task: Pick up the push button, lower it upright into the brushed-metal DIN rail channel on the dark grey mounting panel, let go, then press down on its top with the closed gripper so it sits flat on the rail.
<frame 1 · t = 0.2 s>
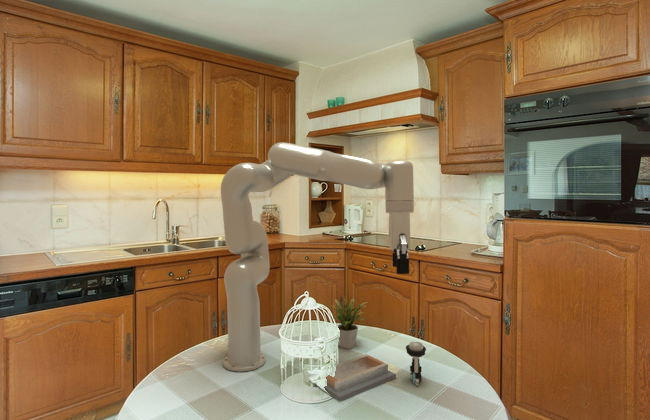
hand: (400, 270, 107), 30 cm above the table, tool pointing down, fingers open, 9 cm apart
mounting panel: (353, 379, 108), on the table
push button: (415, 382, 107), on the table
house plant: (349, 347, 131), on the table
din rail: (353, 371, 108), on the mounting panel, point 2 cm above the table
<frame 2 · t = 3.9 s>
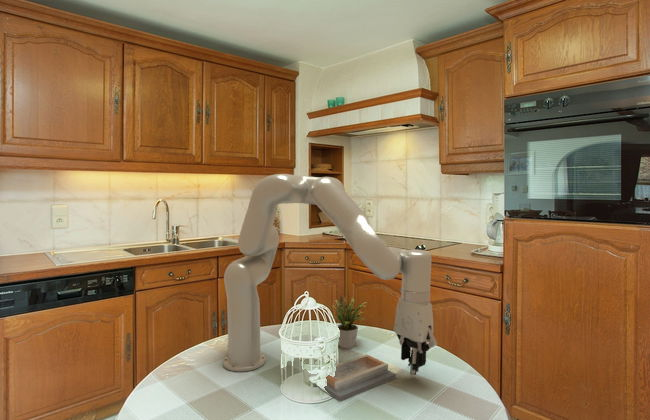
hand: (413, 361, 107), 5 cm above the table, tool pointing down, fingers closed on push button, 4 cm apart
push button: (413, 373, 107), point 2 cm above the table, touching gripper
everything else where it was.
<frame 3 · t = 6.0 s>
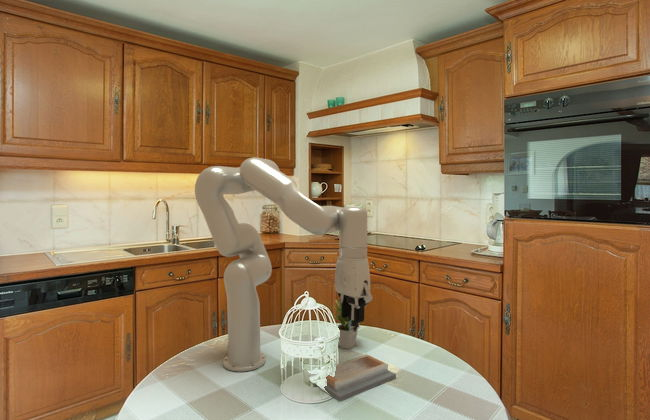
hand: (352, 318, 108), 17 cm above the table, tool pointing down, fingers closed on push button, 4 cm apart
push button: (353, 330, 108), point 14 cm above the table, touching gripper
everything else where it was.
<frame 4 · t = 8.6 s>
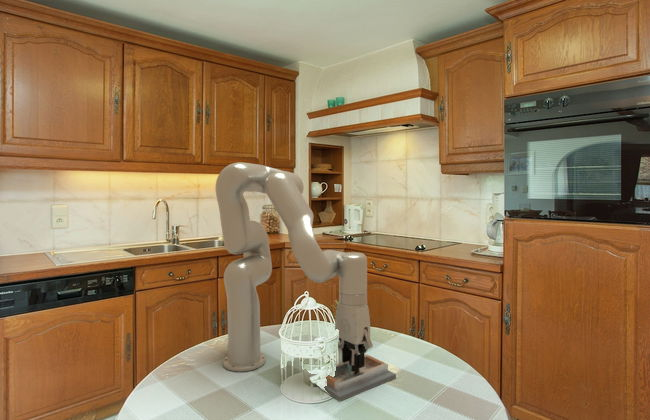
hand: (353, 363, 108), 5 cm above the table, tool pointing down, fingers closed on push button, 4 cm apart
push button: (353, 374, 108), point 1 cm above the table, touching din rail, gripper
everything else where it was.
when the fingers open (5 cm above the table, at t = 8.7 s): push button stays where it is, resting on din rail.
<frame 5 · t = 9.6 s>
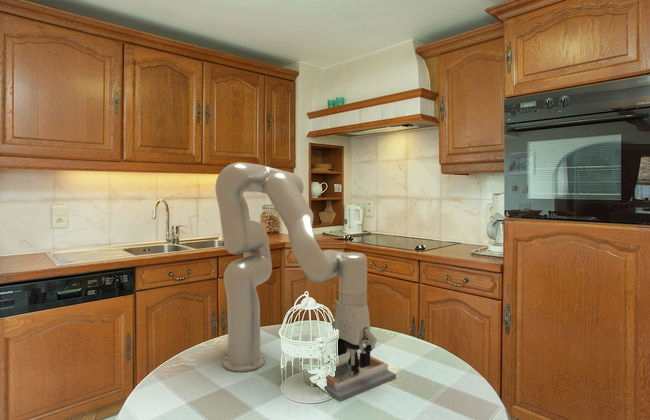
hand: (352, 360, 108), 5 cm above the table, tool pointing down, fingers open, 9 cm apart
push button: (353, 374, 108), point 1 cm above the table, touching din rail
everything else where it was.
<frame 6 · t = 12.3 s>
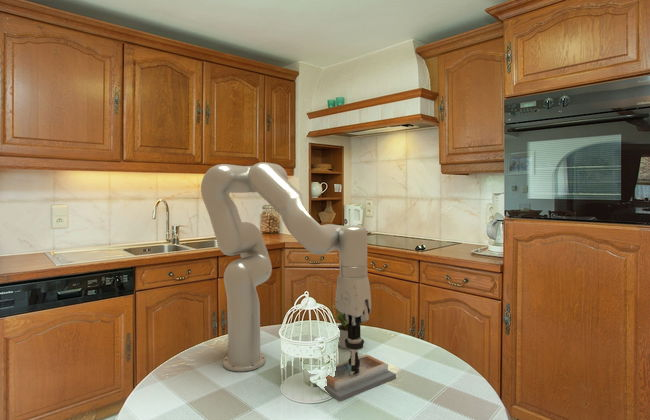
hand: (354, 338, 108), 12 cm above the table, tool pointing down, fingers closed
push button: (353, 374, 108), point 1 cm above the table, touching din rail, gripper
everything else where it was.
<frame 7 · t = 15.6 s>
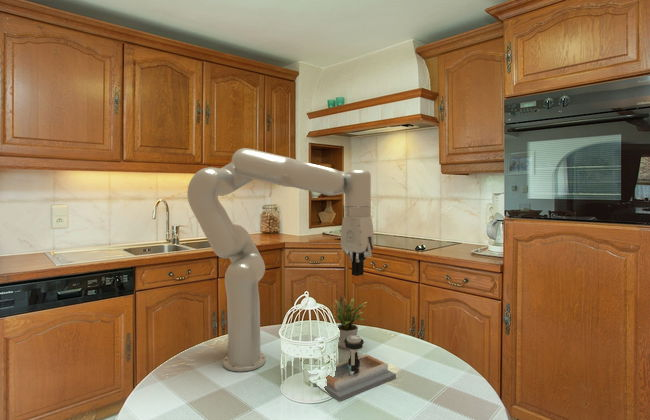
hand: (357, 274, 116), 27 cm above the table, tool pointing down, fingers closed
push button: (353, 374, 108), point 1 cm above the table, touching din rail
everything else where it was.
at the end: push button inside the target area on the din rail (0.1 cm from its centre), point 1.4 cm above the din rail's base; push button tilted 0°; the gripper is holding nothing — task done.
